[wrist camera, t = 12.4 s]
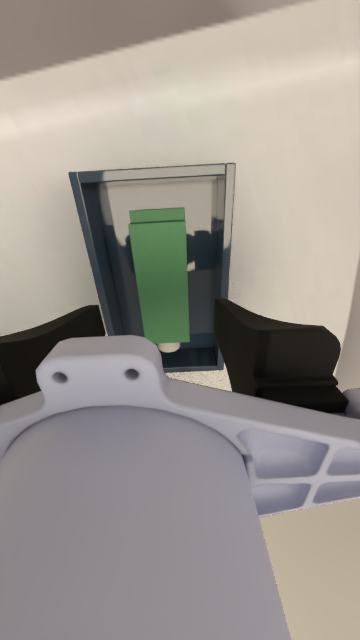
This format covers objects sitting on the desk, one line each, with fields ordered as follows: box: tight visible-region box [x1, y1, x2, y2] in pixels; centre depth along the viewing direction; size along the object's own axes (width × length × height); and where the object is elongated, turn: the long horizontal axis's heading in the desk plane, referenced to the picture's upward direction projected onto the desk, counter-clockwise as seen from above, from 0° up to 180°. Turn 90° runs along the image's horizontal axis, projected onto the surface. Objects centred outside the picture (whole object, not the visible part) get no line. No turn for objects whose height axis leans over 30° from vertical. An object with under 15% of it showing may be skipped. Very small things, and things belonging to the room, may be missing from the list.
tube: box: [128, 208, 190, 352], centre depth 18 cm, size 12×4×3 cm, turn 3°
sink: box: [68, 163, 236, 373], centre depth 18 cm, size 10×16×4 cm, turn 3°
